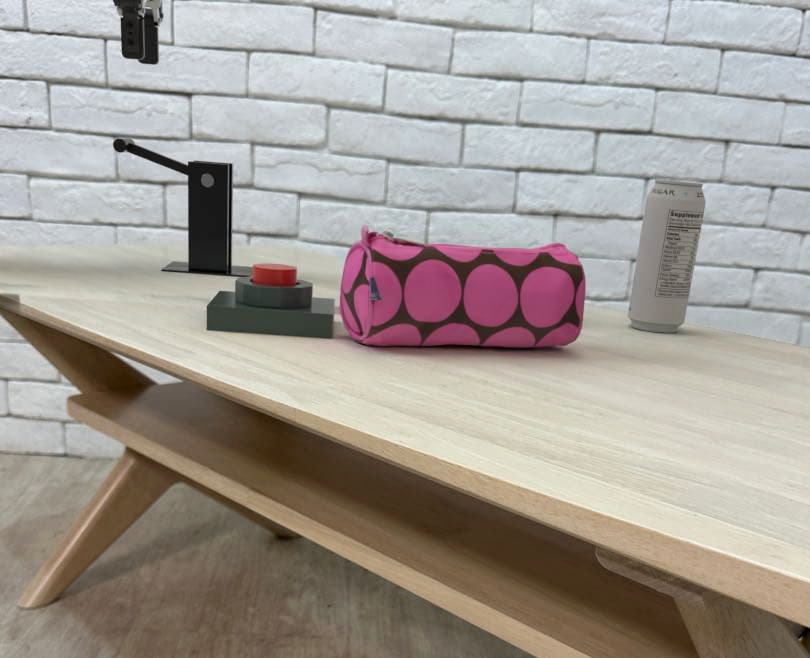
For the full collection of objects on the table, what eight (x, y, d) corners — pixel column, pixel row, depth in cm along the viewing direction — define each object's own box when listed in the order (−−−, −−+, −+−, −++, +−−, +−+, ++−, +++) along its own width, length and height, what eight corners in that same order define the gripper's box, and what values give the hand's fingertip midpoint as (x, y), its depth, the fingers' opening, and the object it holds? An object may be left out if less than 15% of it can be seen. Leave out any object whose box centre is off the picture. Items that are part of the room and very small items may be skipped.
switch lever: (110, 154, 109) (115, 131, 108) (120, 153, 114) (125, 132, 113) (216, 195, 111) (223, 174, 110) (222, 193, 116) (228, 172, 115)
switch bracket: (161, 280, 113) (159, 159, 108) (173, 271, 120) (172, 158, 115) (250, 286, 114) (252, 167, 109) (256, 277, 121) (258, 165, 116)
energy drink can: (660, 323, 112) (684, 181, 106) (694, 333, 106) (721, 185, 101) (615, 322, 109) (637, 178, 104) (647, 333, 104) (672, 182, 99)
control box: (206, 330, 87) (206, 284, 86) (219, 313, 96) (219, 271, 94) (332, 339, 88) (334, 293, 87) (334, 321, 96) (336, 279, 95)
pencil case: (365, 358, 82) (373, 231, 78) (331, 334, 90) (337, 219, 86) (591, 358, 89) (608, 242, 85) (540, 336, 98) (554, 230, 94)
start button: (250, 287, 88) (250, 267, 88) (254, 281, 92) (254, 262, 92) (295, 291, 89) (296, 270, 88) (297, 284, 92) (298, 265, 92)
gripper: (112, -106, 106) (118, 63, 112) (80, -140, 93) (89, 54, 99) (184, -99, 106) (186, 68, 112) (162, -132, 93) (166, 60, 99)
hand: (141, 61), depth 106 cm, fingers open, 8 cm apart
